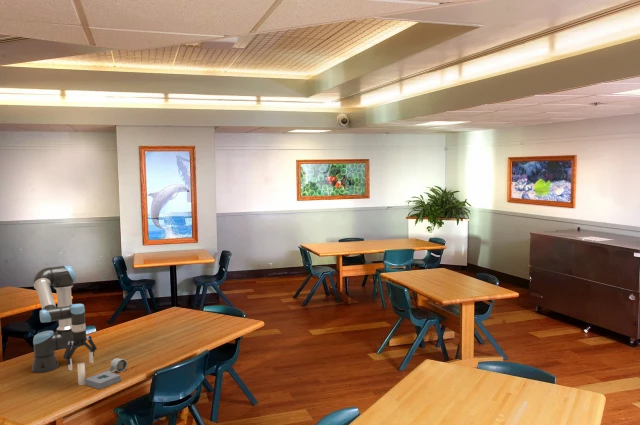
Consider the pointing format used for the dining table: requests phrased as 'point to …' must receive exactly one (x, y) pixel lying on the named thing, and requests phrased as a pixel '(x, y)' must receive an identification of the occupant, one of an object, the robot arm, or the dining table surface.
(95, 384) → the bore block
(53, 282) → the robot arm
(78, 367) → the dowel pin
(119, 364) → the ceramic mug
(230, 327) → the dining table surface
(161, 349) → the dining table surface
